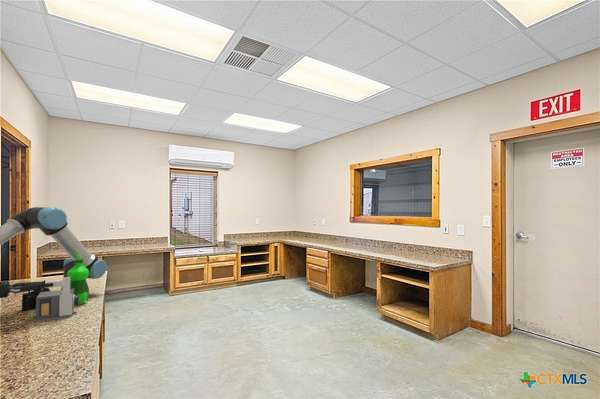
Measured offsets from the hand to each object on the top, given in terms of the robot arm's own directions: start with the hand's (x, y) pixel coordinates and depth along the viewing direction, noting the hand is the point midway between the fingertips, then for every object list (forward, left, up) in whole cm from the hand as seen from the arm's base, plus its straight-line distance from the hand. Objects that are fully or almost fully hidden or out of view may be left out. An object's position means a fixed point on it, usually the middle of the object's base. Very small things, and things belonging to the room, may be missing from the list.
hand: (62, 283), depth 151 cm
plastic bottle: (-23, +5, -17) cm, 29 cm away
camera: (-27, -11, -17) cm, 34 cm away
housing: (-6, -2, -17) cm, 18 cm away
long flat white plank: (0, +2, -16) cm, 16 cm away
